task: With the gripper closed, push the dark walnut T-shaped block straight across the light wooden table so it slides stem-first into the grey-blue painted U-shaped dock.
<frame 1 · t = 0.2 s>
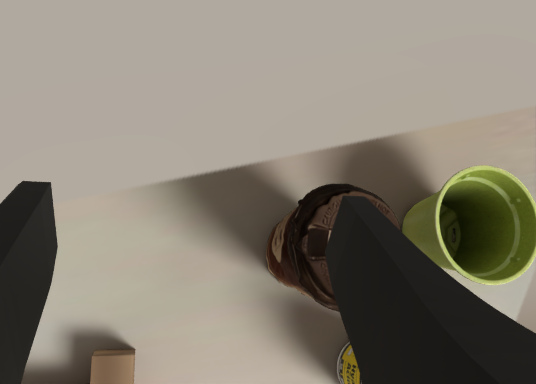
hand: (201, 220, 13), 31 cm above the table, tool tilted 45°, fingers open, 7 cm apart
supplement bottle: (363, 366, 45), on the table
coffee cup: (297, 250, 45), on the table
plant pot: (429, 231, 49), on the table
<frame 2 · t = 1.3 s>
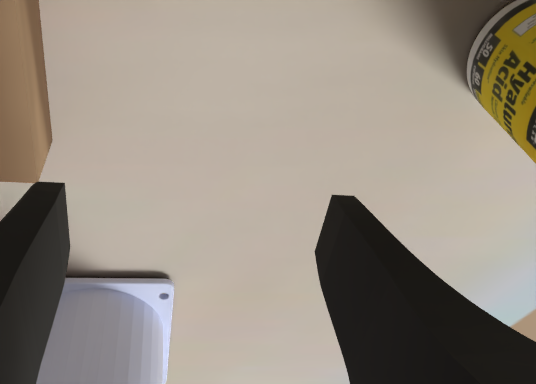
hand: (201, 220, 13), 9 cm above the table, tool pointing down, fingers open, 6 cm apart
supplement bottle: (520, 50, 22), on the table
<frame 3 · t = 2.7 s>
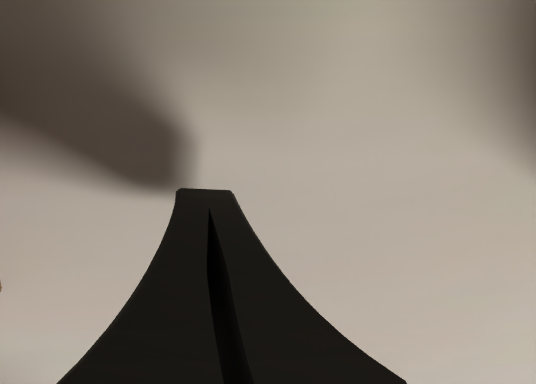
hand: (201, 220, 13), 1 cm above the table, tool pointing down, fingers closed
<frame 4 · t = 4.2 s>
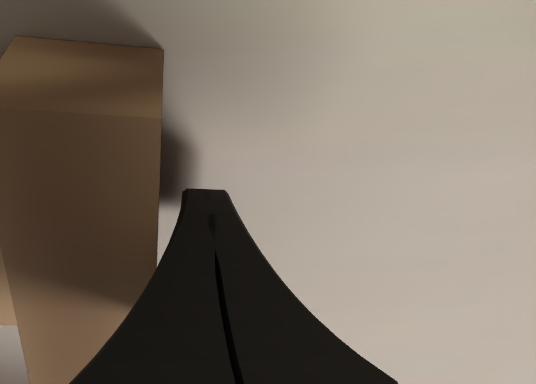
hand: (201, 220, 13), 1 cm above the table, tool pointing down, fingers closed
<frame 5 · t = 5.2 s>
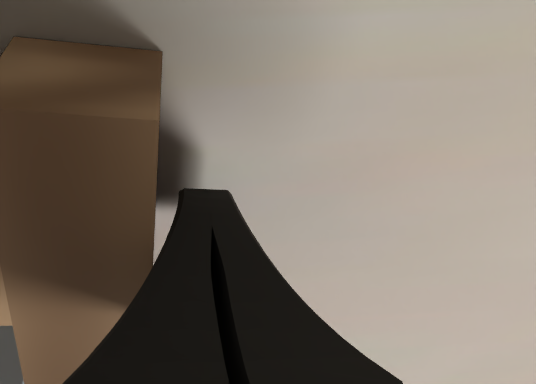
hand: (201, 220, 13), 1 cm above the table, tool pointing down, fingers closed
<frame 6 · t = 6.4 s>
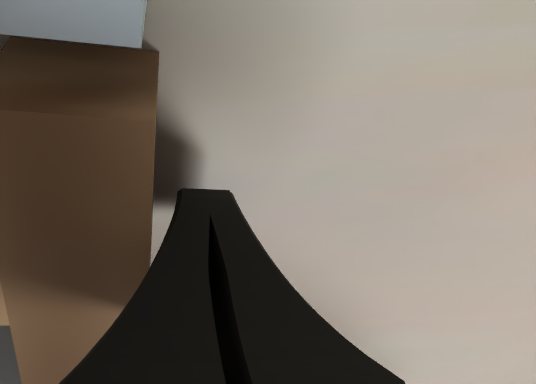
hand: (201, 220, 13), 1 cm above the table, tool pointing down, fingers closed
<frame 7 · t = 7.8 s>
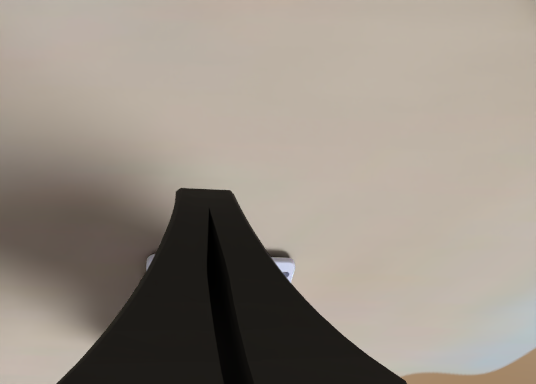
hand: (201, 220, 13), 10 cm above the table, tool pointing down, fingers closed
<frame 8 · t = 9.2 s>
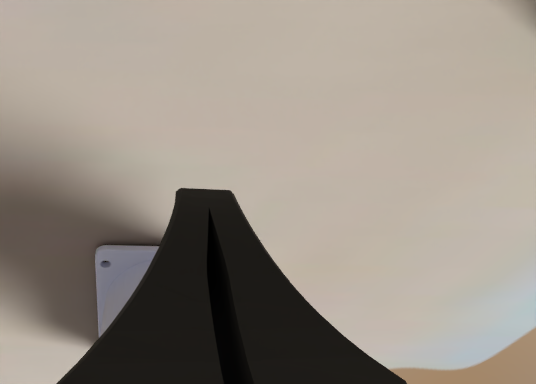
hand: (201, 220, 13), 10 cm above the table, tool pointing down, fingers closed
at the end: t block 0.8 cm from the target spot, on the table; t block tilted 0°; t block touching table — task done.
